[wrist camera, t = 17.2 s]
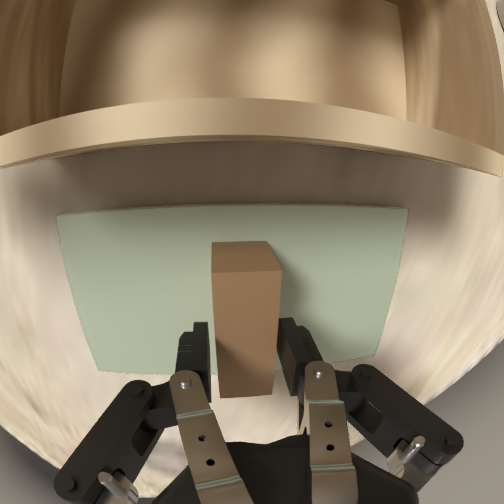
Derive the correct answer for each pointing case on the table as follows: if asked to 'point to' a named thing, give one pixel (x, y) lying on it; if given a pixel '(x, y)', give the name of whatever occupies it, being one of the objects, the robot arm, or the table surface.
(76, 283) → the lid
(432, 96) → the toolbox
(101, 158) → the table surface
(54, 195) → the table surface
